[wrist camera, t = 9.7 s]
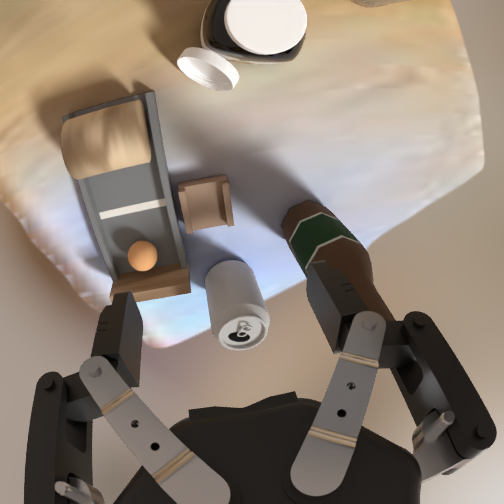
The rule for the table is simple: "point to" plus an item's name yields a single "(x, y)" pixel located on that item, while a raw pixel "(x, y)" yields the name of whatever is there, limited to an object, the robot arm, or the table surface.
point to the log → (106, 140)
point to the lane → (134, 202)
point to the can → (236, 306)
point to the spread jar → (243, 39)
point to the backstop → (154, 282)
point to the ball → (142, 255)
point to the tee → (205, 203)
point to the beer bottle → (332, 250)
